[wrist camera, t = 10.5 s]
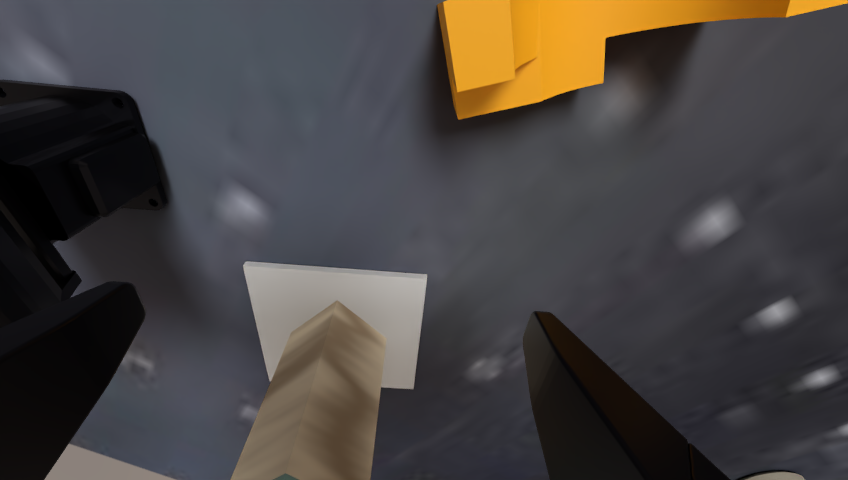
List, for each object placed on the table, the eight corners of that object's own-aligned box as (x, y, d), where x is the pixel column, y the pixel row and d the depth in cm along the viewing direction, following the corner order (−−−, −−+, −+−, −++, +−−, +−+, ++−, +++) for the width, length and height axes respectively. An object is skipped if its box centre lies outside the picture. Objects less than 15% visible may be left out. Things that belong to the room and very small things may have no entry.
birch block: (291, 332, 26) (209, 530, 16) (337, 300, 25) (277, 499, 15) (340, 365, 29) (295, 560, 18) (386, 338, 27) (363, 536, 17)
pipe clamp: (453, 103, 18) (465, 142, 13) (436, 4, 16) (443, 1, 11) (702, 47, 17) (834, 64, 12) (723, -70, 15) (900, -118, 9)
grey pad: (271, 375, 30) (269, 380, 30) (246, 261, 24) (242, 265, 23) (413, 383, 31) (413, 389, 30) (426, 274, 24) (427, 279, 24)
